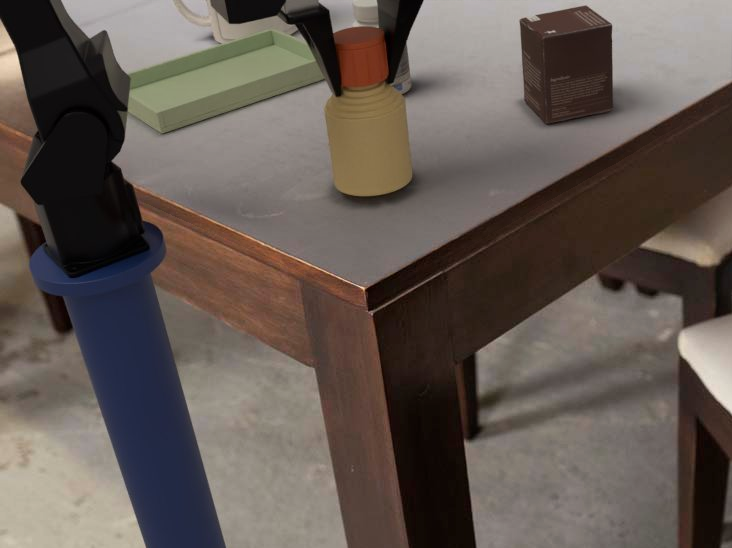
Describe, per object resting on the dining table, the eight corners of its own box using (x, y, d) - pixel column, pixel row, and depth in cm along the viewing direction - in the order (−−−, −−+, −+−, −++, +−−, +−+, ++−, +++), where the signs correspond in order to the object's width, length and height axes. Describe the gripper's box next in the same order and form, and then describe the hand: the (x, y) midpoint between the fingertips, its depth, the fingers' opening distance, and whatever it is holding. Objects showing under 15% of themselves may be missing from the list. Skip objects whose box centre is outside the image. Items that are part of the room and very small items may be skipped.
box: (614, 112, 91) (614, 23, 87) (544, 126, 91) (541, 37, 87) (589, 88, 96) (587, 3, 92) (522, 101, 96) (518, 16, 92)
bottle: (376, 203, 81) (359, 62, 75) (318, 185, 85) (298, 50, 79) (428, 172, 85) (416, 36, 79) (370, 157, 88) (355, 25, 82)
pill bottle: (413, 79, 104) (403, -12, 99) (409, 97, 100) (399, 3, 95) (363, 83, 104) (351, -7, 100) (357, 102, 100) (344, 8, 96)
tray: (161, 134, 100) (156, 112, 99) (109, 99, 109) (104, 80, 108) (339, 74, 107) (336, 53, 106) (276, 46, 117) (273, 27, 116)
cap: (399, 75, 80) (395, 32, 78) (354, 91, 78) (349, 48, 76) (367, 64, 82) (363, 22, 81) (323, 79, 81) (317, 37, 79)
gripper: (418, -181, 80) (437, 33, 89) (168, -134, 76) (213, 86, 85) (483, -165, 71) (497, 71, 80) (205, -110, 67) (252, 133, 76)
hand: (363, 88), depth 81 cm, fingers closed on cap, 4 cm apart
